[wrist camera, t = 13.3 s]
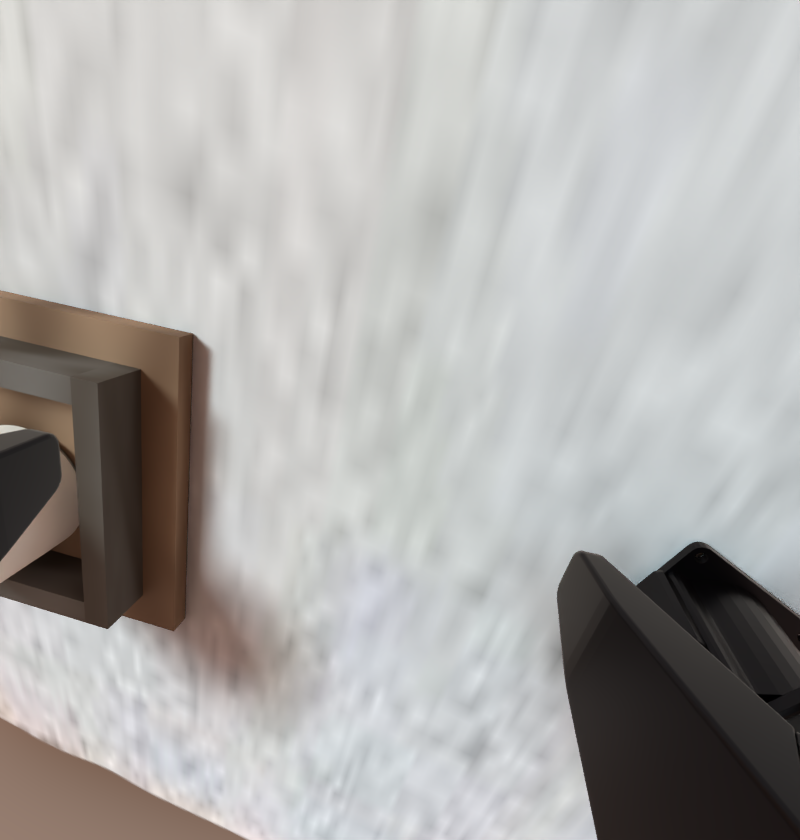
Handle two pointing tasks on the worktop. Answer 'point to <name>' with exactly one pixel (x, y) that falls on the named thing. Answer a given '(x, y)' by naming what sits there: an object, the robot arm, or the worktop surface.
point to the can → (45, 520)
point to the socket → (105, 456)
